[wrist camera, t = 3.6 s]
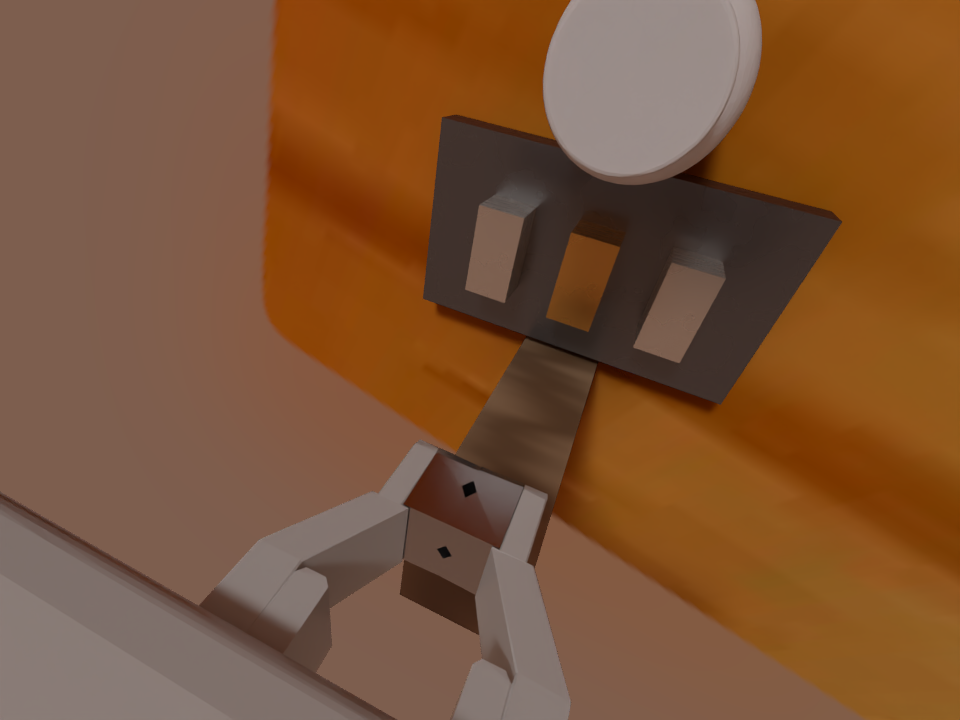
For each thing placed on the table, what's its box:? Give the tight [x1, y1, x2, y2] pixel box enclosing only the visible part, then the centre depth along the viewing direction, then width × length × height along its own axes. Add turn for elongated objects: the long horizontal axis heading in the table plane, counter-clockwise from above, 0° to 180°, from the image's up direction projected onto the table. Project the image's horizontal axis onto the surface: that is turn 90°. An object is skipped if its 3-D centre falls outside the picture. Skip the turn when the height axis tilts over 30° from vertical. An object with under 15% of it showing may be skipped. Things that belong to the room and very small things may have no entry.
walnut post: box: [400, 336, 598, 635], centre depth 20 cm, size 4×4×14 cm
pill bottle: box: [543, 0, 762, 185], centre depth 13 cm, size 5×5×10 cm
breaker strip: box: [423, 115, 842, 404], centre depth 20 cm, size 16×9×4 cm, turn 79°
